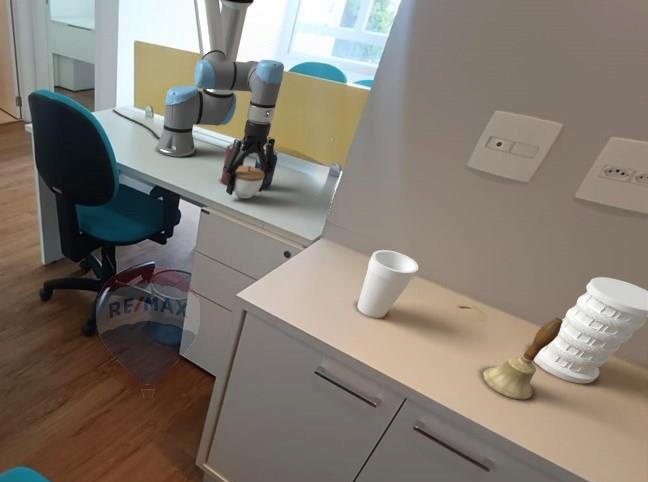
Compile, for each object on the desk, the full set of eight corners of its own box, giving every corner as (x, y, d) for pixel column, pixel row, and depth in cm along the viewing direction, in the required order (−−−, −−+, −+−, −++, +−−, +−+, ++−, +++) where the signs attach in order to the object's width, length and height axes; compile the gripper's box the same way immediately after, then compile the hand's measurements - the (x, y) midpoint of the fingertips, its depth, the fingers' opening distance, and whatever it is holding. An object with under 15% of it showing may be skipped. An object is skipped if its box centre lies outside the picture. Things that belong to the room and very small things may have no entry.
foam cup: (345, 296, 107) (366, 248, 99) (383, 299, 107) (407, 251, 99) (358, 320, 100) (382, 271, 92) (398, 323, 100) (426, 274, 92)
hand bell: (487, 391, 85) (540, 327, 75) (479, 364, 91) (527, 301, 81) (536, 405, 83) (597, 341, 73) (524, 376, 89) (579, 313, 79)
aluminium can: (217, 179, 160) (223, 144, 152) (233, 178, 163) (240, 143, 155) (226, 186, 156) (233, 150, 148) (242, 185, 158) (250, 149, 150)
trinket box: (259, 203, 143) (266, 174, 137) (226, 198, 145) (231, 169, 139) (259, 191, 152) (266, 163, 146) (228, 186, 153) (233, 158, 147)
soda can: (255, 190, 155) (264, 155, 147) (247, 183, 160) (254, 148, 152) (273, 190, 157) (282, 155, 149) (264, 182, 162) (272, 148, 154)
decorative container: (609, 383, 89) (685, 312, 78) (558, 383, 88) (627, 312, 77) (564, 345, 98) (626, 276, 87) (516, 345, 97) (573, 275, 85)
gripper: (232, 125, 127) (219, 199, 141) (297, 122, 135) (278, 193, 149) (219, 118, 132) (207, 190, 146) (283, 116, 140) (266, 184, 154)
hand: (243, 191), depth 148 cm, fingers closed on trinket box, 11 cm apart
